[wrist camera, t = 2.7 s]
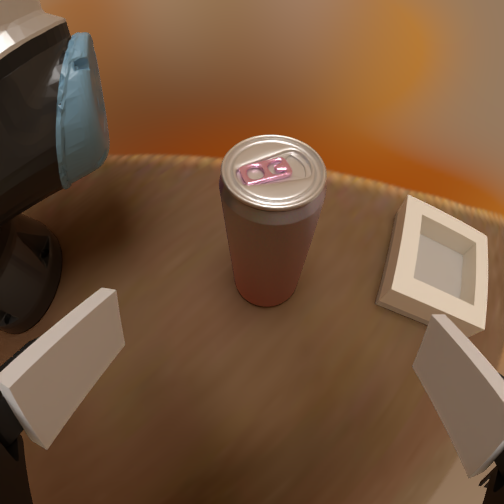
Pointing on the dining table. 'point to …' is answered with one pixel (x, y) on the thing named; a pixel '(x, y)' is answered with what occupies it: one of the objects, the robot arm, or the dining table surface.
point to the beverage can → (270, 213)
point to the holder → (435, 268)
